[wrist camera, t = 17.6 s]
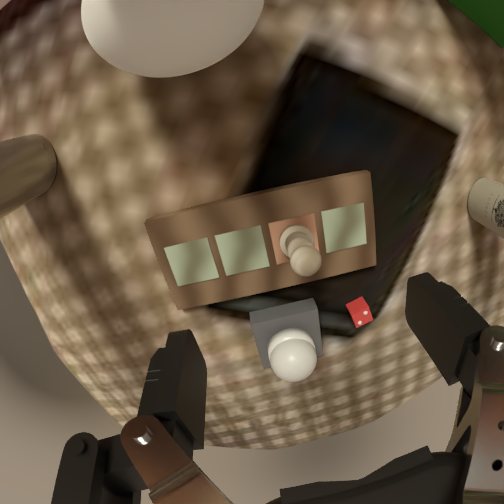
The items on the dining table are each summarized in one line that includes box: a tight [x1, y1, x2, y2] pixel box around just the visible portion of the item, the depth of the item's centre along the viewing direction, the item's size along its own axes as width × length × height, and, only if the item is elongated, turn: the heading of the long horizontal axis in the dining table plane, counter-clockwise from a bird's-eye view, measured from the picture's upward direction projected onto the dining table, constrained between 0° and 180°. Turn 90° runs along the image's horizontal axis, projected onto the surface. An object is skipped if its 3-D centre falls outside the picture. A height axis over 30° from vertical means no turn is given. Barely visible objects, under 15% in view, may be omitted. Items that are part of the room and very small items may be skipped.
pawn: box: [279, 224, 321, 276], centre depth 37 cm, size 4×4×8 cm
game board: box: [144, 170, 376, 310], centre depth 41 cm, size 30×14×2 cm, turn 103°
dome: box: [267, 328, 317, 382], centre depth 43 cm, size 7×7×7 cm
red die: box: [346, 297, 373, 328], centre depth 46 cm, size 3×3×3 cm
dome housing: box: [249, 298, 323, 369], centre depth 47 cm, size 10×10×3 cm
